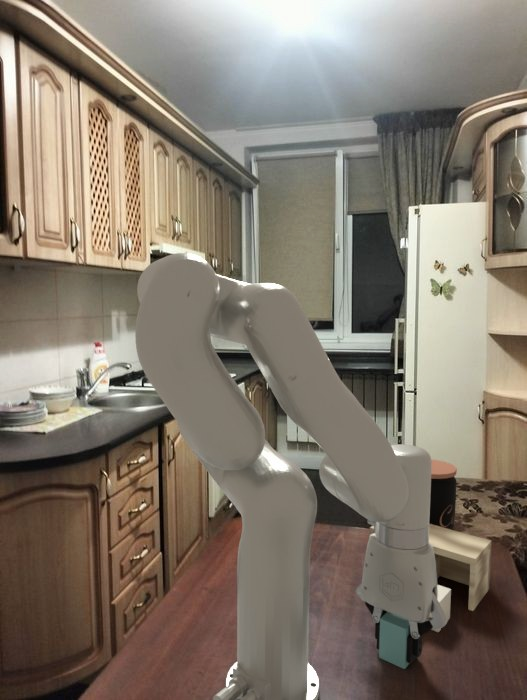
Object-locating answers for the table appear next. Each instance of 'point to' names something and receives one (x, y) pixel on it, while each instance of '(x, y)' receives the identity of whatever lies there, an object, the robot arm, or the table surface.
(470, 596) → the birch shelf
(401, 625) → the teal and white dumbbell
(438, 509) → the coffee jar
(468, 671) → the table surface
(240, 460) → the robot arm
